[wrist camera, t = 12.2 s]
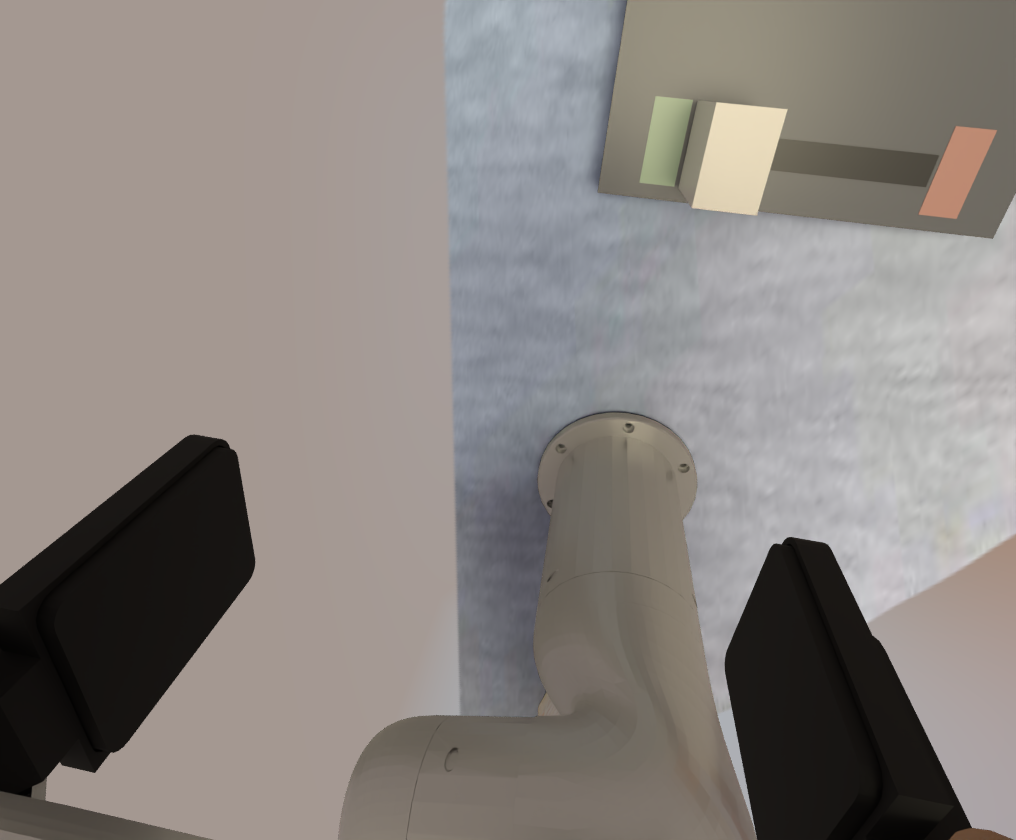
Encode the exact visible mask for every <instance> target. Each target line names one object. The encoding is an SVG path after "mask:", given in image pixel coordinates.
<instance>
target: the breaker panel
mask: <svg viewBox="0 0 1016 840" xmlns="http://www.w3.org/2000/svg"><path fill="white" fill-rule="evenodd" d="M698 100H700V101H710V102H720V103H730V104H740V105H750V106H760V107H770V108H780V109H788V110H787V113H786V117H785V120H784V124H783V127H782V130H781V134H780V137H779V141H778V144H777V148H776V151H775V154H774V158H773V161H772V165H771V168H770V172H769V175H768V178H767V182H766V185H765V189H764V192H763V196H762V199H761V202H760V206H759V209H758V211H760V212H769V213H777V214H786V215H794V216H803V217H812V218H820V219H829V220H837V221H846V222H855V223H863V224H872V225H880V226H889V227H898V228H906V229H915V230H923V231H932V232H940V233H949V234H958V235H966V236H975V237H983V238H992V239H993V237H994V235H995V233H996V231H997V229H998V227H999V225H1000V223H1001V221H1002V219H1003V217H1004V215H1005V213H1006V211H1007V209H1008V207H1009V205H1010V203H1011V201H1012V199H1013V197H1014V195H1015V193H1016V0H627V6H626V12H625V19H624V25H623V32H622V38H621V45H620V51H619V58H618V64H617V70H616V77H615V83H614V90H613V96H612V103H611V109H610V116H609V122H608V129H607V135H606V141H605V148H604V154H603V161H602V167H601V174H600V180H599V187H598V193H606V194H614V195H623V196H631V197H640V198H648V199H657V200H666V201H674V202H683V203H688V202H687V200H686V199H685V197H684V196H683V194H682V193H681V191H680V190H679V188H678V187H679V183H680V178H681V174H682V169H683V165H684V160H685V156H686V151H687V147H688V142H689V138H690V133H691V128H692V124H693V119H694V115H695V110H696V106H697V101H698Z"/></svg>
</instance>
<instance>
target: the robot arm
mask: <svg viewBox="0 0 1016 840" xmlns="http://www.w3.org/2000/svg"><path fill="white" fill-rule="evenodd" d="M626 423H630V425H627V424H626ZM560 444H563V445H560ZM537 481H538V491H539V494H540V498H541V501H542V503H543V505H544V507H545V508H546V510H547V512H548V514H549V515H550V516H551V519H550V525H549V532H548V539H547V546H546V552H545V559H544V566H543V572H542V579H541V586H540V593H539V599H538V606H537V613H536V621H535V628H534V637H533V650H534V659H535V663H536V667H537V670H538V674H539V677H540V679H541V682H542V684H543V686H544V688H545V690H546V692H547V694H548V696H549V698H550V699H551V701H552V703H553V704H554V706H555V707H556V709H557V710H558V712H559V713H560V715H558V716H536V717H496V716H444V715H442V716H441V715H440V716H439V715H436V716H435V715H434V716H418V717H412V718H407V719H403V720H400V721H397V722H395V723H393V724H391V725H389V726H387V727H386V728H384V729H383V730H382V731H380V732H379V733H378V734H377V735H376V736H375V737H374V738H373V739H372V740H371V741H370V742H369V744H368V745H367V746H366V748H365V749H364V751H363V752H362V754H361V756H360V758H359V760H358V762H357V764H356V766H355V768H354V770H353V773H352V775H351V779H350V781H349V785H348V788H347V791H346V795H345V799H344V803H343V808H342V813H341V819H340V825H339V835H338V840H1013V839H1011V838H1008V837H1006V836H1003V835H1001V834H998V833H996V832H993V831H990V830H982V829H976V828H972V827H971V825H970V823H969V821H968V819H967V817H966V815H965V813H964V811H963V808H962V806H961V804H960V802H959V800H958V798H957V796H956V794H955V792H954V790H953V788H952V786H951V784H950V782H949V780H948V778H947V776H946V774H945V772H944V770H943V768H942V765H941V763H940V761H939V760H938V757H937V755H936V753H935V751H934V749H933V747H932V745H931V743H930V741H929V739H928V737H927V735H926V733H925V731H924V729H923V727H922V725H921V723H920V720H919V718H918V717H917V714H916V712H915V710H914V708H913V706H912V704H911V702H910V700H909V698H908V696H907V694H906V692H905V690H904V688H903V686H902V684H901V682H900V680H899V678H898V675H897V673H896V671H895V669H894V667H893V665H892V663H891V661H890V659H889V657H888V655H887V653H886V651H885V649H884V648H883V646H882V645H881V643H880V641H879V640H877V639H876V638H875V637H874V636H872V634H871V632H870V630H869V628H868V625H867V623H866V621H865V619H864V617H863V615H862V613H861V611H860V609H859V607H858V604H857V602H856V600H855V598H854V596H853V594H852V592H851V590H850V588H849V586H848V584H847V581H846V579H845V577H844V575H843V573H842V571H841V569H840V567H839V565H838V563H837V561H836V558H835V556H834V554H833V552H832V550H831V549H830V547H829V546H828V545H827V544H825V543H822V542H816V541H810V540H805V539H799V538H793V537H788V538H786V539H785V540H784V542H783V543H782V545H781V544H773V545H772V546H771V548H770V550H769V552H768V555H767V557H766V559H765V562H764V564H763V567H762V569H761V571H760V574H759V576H758V578H757V581H756V583H755V585H754V588H753V590H752V593H751V595H750V597H749V600H748V602H747V604H746V607H745V609H744V611H743V614H742V616H741V618H740V621H739V623H738V626H737V628H736V630H735V633H734V635H733V637H732V640H731V642H730V644H729V647H728V649H727V652H726V657H725V675H726V680H727V685H728V690H729V695H730V701H731V706H732V711H733V716H734V721H735V727H736V731H737V737H738V742H739V747H740V753H741V758H742V763H743V768H744V773H745V778H746V784H747V789H748V794H749V799H750V804H751V810H752V815H753V820H754V825H755V831H756V834H755V831H754V827H753V823H752V821H751V818H750V815H749V812H748V809H747V806H746V803H745V800H744V797H743V794H742V791H741V788H740V785H739V782H738V779H737V776H736V773H735V770H734V767H733V764H732V761H731V758H730V755H729V752H728V749H727V746H726V743H725V740H724V737H723V733H722V730H721V726H720V722H719V719H718V715H717V711H716V707H715V703H714V698H713V694H712V690H711V685H710V680H709V675H708V669H707V664H706V659H705V653H704V647H703V641H702V635H701V629H700V624H699V618H698V611H697V604H696V598H695V592H694V586H693V580H692V574H691V568H690V562H689V556H688V550H687V544H686V538H685V531H684V525H683V519H684V518H685V517H686V515H687V514H688V512H689V511H690V509H691V507H692V505H693V502H694V500H695V496H696V491H697V474H696V469H695V465H694V461H693V459H692V457H691V454H690V452H689V450H688V449H687V447H686V446H685V445H684V443H683V442H682V440H681V439H680V438H679V437H678V436H677V435H675V434H674V433H673V432H672V431H671V430H670V429H668V428H667V427H665V426H663V425H662V424H660V423H658V422H657V421H654V420H651V419H649V418H646V417H643V416H640V415H634V414H629V413H603V414H596V415H592V416H589V417H586V418H583V419H580V420H578V421H576V422H574V423H572V424H570V425H568V426H567V427H565V428H564V429H563V430H562V431H560V432H559V433H558V434H557V435H556V436H555V437H554V438H553V439H552V441H551V442H550V443H549V444H548V446H547V447H546V449H545V451H544V453H543V455H542V458H541V462H540V466H539V471H538V478H537ZM254 568H255V556H254V550H253V544H252V539H251V533H250V527H249V521H248V515H247V509H246V503H245V497H244V491H243V486H242V480H241V474H240V468H239V462H238V457H237V454H236V452H235V451H234V450H232V449H230V447H229V444H228V443H227V442H226V441H225V440H222V439H217V438H211V437H205V436H200V435H189V436H187V437H185V438H184V439H183V440H181V441H180V442H179V443H178V444H177V445H175V446H174V447H173V448H171V449H170V450H169V451H168V452H166V453H165V454H164V455H163V456H161V457H160V458H159V459H158V460H156V461H155V462H154V463H152V464H151V465H150V466H149V467H148V468H146V469H145V470H144V471H142V472H141V473H140V474H139V475H137V476H136V477H135V478H134V479H132V480H131V481H130V482H129V483H127V484H126V485H125V486H124V487H122V488H121V489H120V490H119V491H117V492H116V493H115V494H114V495H112V496H111V497H110V498H108V499H107V500H106V501H105V502H103V503H102V504H101V505H100V506H98V507H97V508H96V509H95V510H93V511H92V512H91V513H90V514H88V515H87V516H86V517H85V518H83V519H82V520H81V521H80V522H78V523H77V524H76V525H75V526H73V527H72V528H71V529H70V530H68V531H67V532H66V533H65V534H63V535H62V536H61V537H60V538H58V539H57V540H56V541H55V542H53V543H52V544H51V545H49V546H48V547H47V548H46V549H44V550H43V551H42V552H41V553H39V554H38V555H37V556H36V557H35V558H33V559H32V560H31V561H29V562H28V563H27V564H26V565H25V566H23V567H22V568H21V569H19V570H18V571H17V572H15V573H14V574H13V575H12V576H11V577H9V578H8V579H7V580H5V581H4V582H3V583H2V584H0V840H212V839H208V838H204V837H199V836H195V835H191V834H187V833H182V832H178V831H174V830H170V829H165V828H161V827H157V826H152V825H148V824H144V823H140V822H135V821H131V820H126V819H123V818H118V817H114V816H110V815H105V814H101V813H97V812H93V811H88V810H84V809H80V808H75V807H71V806H67V805H63V804H58V803H53V802H48V801H45V796H46V781H47V776H48V775H49V774H50V773H51V772H52V770H53V769H54V768H55V767H56V766H57V764H58V763H59V762H60V763H61V764H62V765H63V766H68V767H72V768H77V769H80V770H85V771H89V772H93V773H95V772H96V771H97V770H98V768H99V767H100V766H101V764H102V763H103V762H104V760H105V759H106V758H107V756H108V755H109V754H110V753H111V752H113V753H114V752H116V751H119V750H120V749H121V748H123V747H124V746H125V744H126V743H127V742H128V741H129V740H130V738H131V737H132V736H133V734H134V733H135V732H136V730H137V729H138V728H139V726H140V725H141V723H142V722H143V721H144V719H145V718H146V717H147V716H148V714H149V713H150V712H151V710H152V709H153V708H154V706H155V705H156V704H157V702H158V701H159V700H160V699H161V697H162V696H163V695H164V693H165V692H166V690H167V689H168V688H169V686H170V685H171V684H172V682H173V681H174V680H175V678H176V677H177V676H178V675H179V673H180V672H181V671H182V669H183V668H184V667H185V665H186V664H187V663H188V661H189V660H190V659H191V657H192V656H193V655H194V653H195V652H196V651H197V649H198V648H199V647H200V645H201V644H202V643H203V641H204V640H205V639H206V637H207V636H208V635H209V633H210V632H211V631H212V629H213V628H214V627H215V625H216V624H217V623H218V621H219V620H220V619H221V618H222V616H223V615H224V613H225V612H226V611H227V609H228V608H229V607H230V606H231V604H232V603H233V601H234V600H235V599H236V598H237V596H238V595H239V594H240V592H241V591H242V590H243V588H244V587H245V586H246V584H247V583H248V582H249V580H250V578H251V577H252V574H253V571H254ZM756 835H757V838H756Z"/></svg>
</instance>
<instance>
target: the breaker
mask: <svg viewBox="0 0 1016 840" xmlns="http://www.w3.org/2000/svg"><path fill="white" fill-rule="evenodd" d="M787 110H788V109H780V108H770V107H760V106H750V105H740V104H730V103H720V102H710V101H700V100H698V101H697V106H696V110H695V115H694V119H693V124H692V128H691V133H690V138H689V142H688V147H687V151H686V156H685V160H684V165H683V169H682V174H681V178H680V183H679V187H678V188H679V190H680V191H681V193H682V194H683V196H684V197H685V199H686V200H687V202H688V203H689V205H690V206H691V208H697V209H705V210H714V211H722V212H731V213H739V214H748V215H756V216H757V213H758V209H759V206H760V202H761V199H762V196H763V192H764V189H765V185H766V182H767V178H768V175H769V172H770V168H771V165H772V161H773V158H774V154H775V151H776V148H777V144H778V141H779V137H780V134H781V130H782V127H783V124H784V120H785V117H786V113H787Z"/></svg>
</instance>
